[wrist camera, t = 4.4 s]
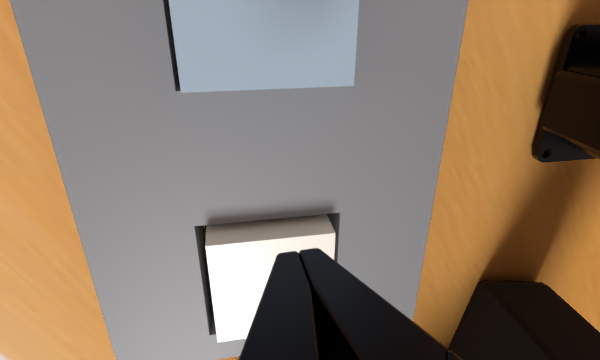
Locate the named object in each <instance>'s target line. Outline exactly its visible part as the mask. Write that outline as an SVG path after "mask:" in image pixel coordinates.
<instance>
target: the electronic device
mask: <svg viewBox="0 0 600 360" xmlns="http://www.w3.org/2000/svg"><path fill="white" fill-rule="evenodd" d="M448 351H452V352H453V353H455V354H456V355H457V356H459V357H460V358H461V359H463V360H600V332H599V331H597V330H596V329H595V328H594V327H593V326H592V325H591V324H590V323H589V322H587V321H586V320H585V319H584V318H583V317H582V316H581V315H580V314H579V313H577V312H576V311H575V310H574V309H573V308H572V307H571V306H570V305H569V304H568V303H566V302H565V301H564V300H563V299H562V298H561V297H560V296H559V295H558V294H556V293H555V292H554V291H553V290H552V289H551V288H550V287H549V286H547V285H545V284H544V283H542V282H502V281H483V282H480V283H479V284H478V286H477V287H476V289H475V291H474V293H473V296H472V298H471V300H470V302H469V305H468V307H467V309H466V311H465V313H464V316H463V318H462V320H461V322H460V324H459V327H458V329H457V331H456V333H455V335H454V338H453V340H452V342H451V344H450V346H449V349H448ZM448 351H447V353H448Z"/></svg>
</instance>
